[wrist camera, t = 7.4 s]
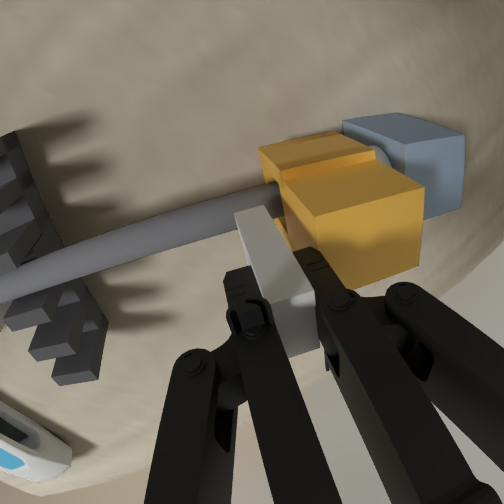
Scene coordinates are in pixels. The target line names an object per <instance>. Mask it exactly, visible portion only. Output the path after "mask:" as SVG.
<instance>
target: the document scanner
mask: <svg viewBox="0 0 504 504" xmlns="http://www.w3.org/2000/svg"><path fill="white" fill-rule="evenodd" d="M0 418H2V419H3V420H5V421H6V422H8V423H9V424H11V425H13V426H14V427H16V428H17V429H19V430H20V431H22V432H24V433H25V434H27V435H28V436H27V438H26V439H24V440H22V441H20V442H16V441H14V440H12V439H10V438H8V437H6V436H4V435H2V434H1V433H0V471H3V472H5V473H8V474H11V475H14V476H17V477H21V478H24V479H27V480H30V481H34V482H38V483H39V482H43V481H47V480H51V479H55V478H57V477H58V476H60V475H61V474H62V473H63V472H65V471H66V470H67V469H68V468H70V467H71V461H72V451H73V450H72V449H71V447H69V446H68V445H66V444H65V443H63V442H62V441H61V440H59V439H58V438H57V437H55V436H54V435H52V434H51V433H50V432H48V431H47V430H46V429H44V428H43V427H42V426H41V425H39V424H38V423H37V422H35V421H33V420H31V419H30V418H28V417H26V416H24V415H23V414H21V413H19V412H18V411H16V410H14V409H13V408H11V407H9V406H8V405H6V404H5V403H3V402H2V401H0Z"/></svg>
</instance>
